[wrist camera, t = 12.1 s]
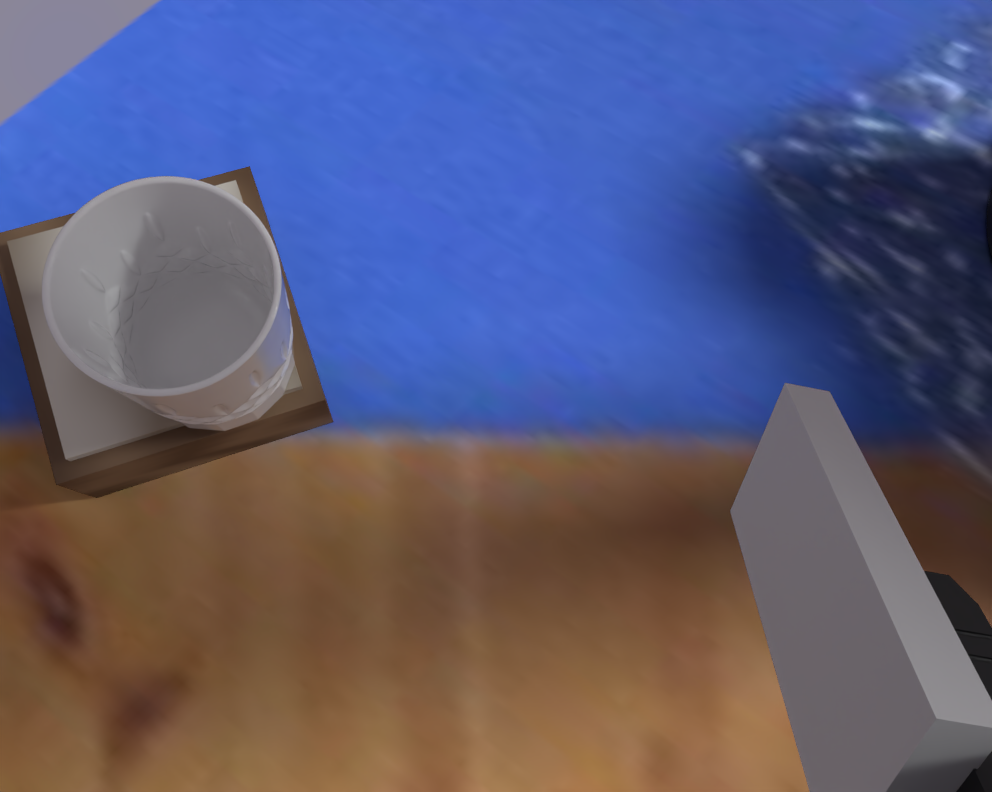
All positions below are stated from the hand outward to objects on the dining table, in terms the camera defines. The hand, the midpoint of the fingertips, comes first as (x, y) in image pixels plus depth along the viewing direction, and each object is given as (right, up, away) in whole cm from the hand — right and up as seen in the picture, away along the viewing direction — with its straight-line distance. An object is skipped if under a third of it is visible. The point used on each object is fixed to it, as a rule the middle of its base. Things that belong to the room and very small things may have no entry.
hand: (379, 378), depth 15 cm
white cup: (-11, +1, +26) cm, 28 cm away
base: (-14, +2, +31) cm, 35 cm away
